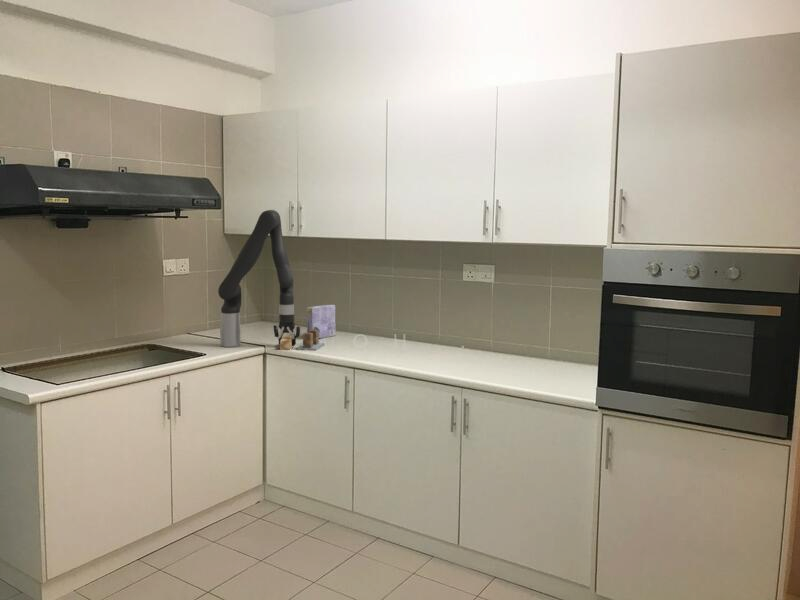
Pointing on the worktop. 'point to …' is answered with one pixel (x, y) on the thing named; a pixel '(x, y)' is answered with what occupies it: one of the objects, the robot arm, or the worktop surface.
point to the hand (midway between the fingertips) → (287, 345)
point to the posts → (310, 338)
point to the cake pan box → (321, 320)
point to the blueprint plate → (312, 347)
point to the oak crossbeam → (286, 342)
